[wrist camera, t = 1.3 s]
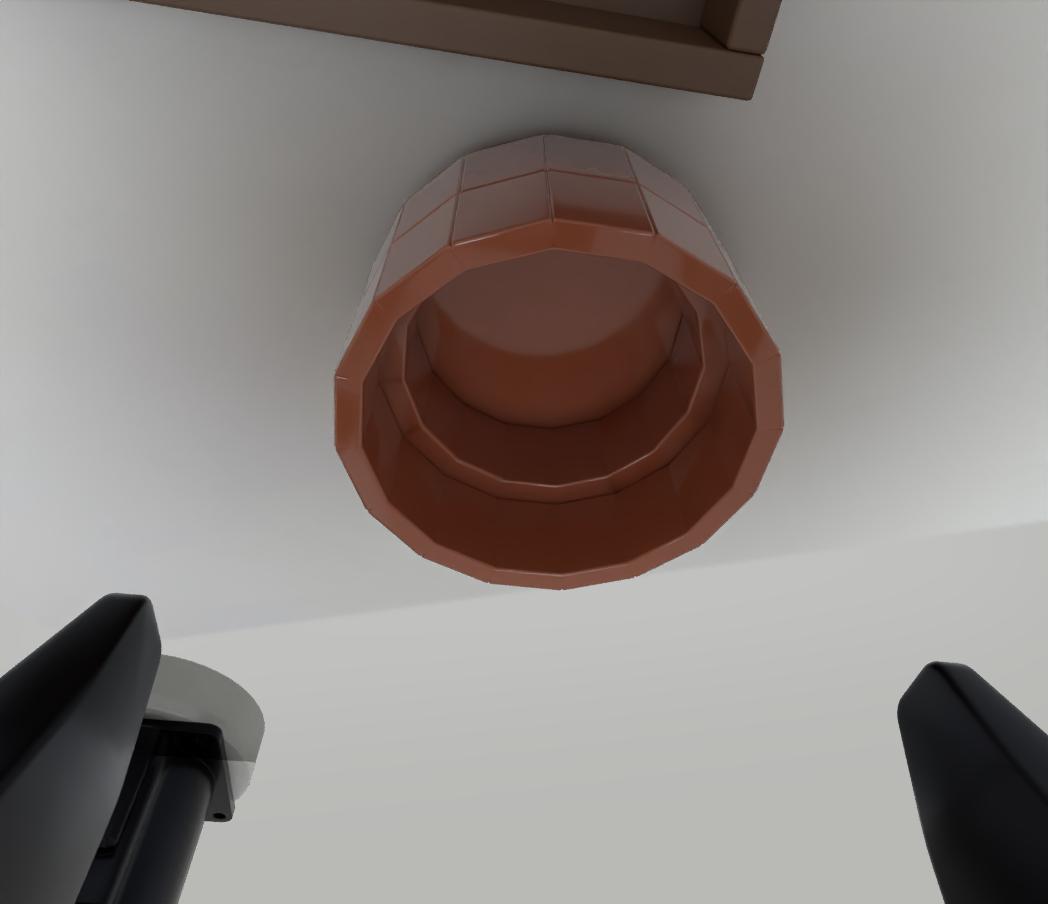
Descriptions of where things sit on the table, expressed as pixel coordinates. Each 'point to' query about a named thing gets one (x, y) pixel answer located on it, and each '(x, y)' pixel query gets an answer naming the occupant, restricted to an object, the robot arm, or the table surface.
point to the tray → (553, 33)
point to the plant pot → (555, 370)
